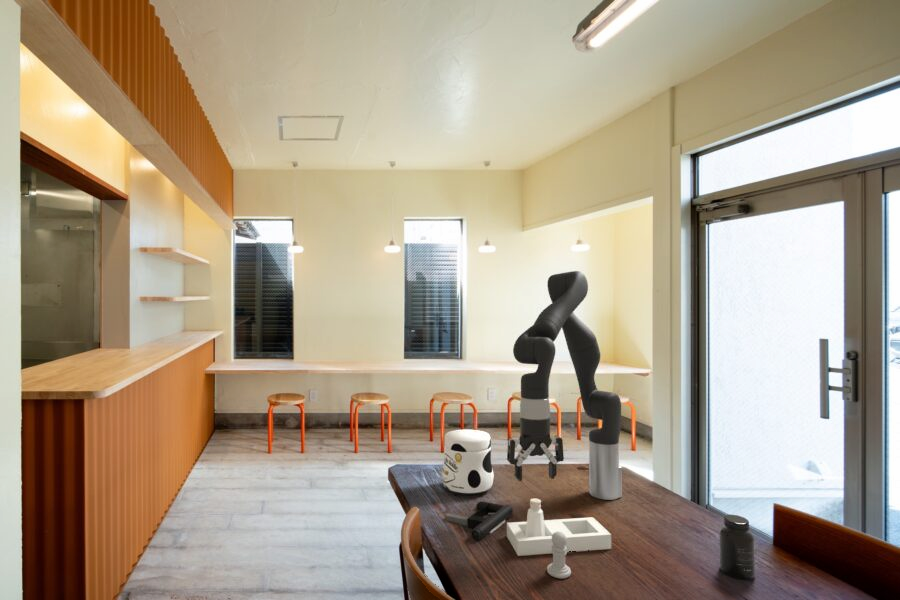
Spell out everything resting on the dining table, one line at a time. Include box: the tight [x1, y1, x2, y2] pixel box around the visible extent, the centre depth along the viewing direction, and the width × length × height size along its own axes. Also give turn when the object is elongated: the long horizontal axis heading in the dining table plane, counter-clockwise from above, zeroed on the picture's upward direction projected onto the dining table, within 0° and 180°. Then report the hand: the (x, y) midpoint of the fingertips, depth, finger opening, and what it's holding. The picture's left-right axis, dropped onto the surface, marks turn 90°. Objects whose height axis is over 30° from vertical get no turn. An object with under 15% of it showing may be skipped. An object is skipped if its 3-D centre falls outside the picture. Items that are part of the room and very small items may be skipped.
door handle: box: [444, 501, 514, 541], centre depth 130 cm, size 3×20×16 cm
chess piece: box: [546, 532, 572, 580], centre depth 104 cm, size 5×5×9 cm
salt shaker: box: [525, 498, 545, 537], centre depth 117 cm, size 5×5×11 cm
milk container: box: [441, 428, 495, 496], centre depth 154 cm, size 17×17×18 cm
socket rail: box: [506, 516, 612, 557], centre depth 118 cm, size 24×10×4 cm, turn 99°
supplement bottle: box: [718, 514, 756, 581], centre depth 105 cm, size 7×7×12 cm
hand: (535, 479), depth 118 cm, fingers open, 8 cm apart
